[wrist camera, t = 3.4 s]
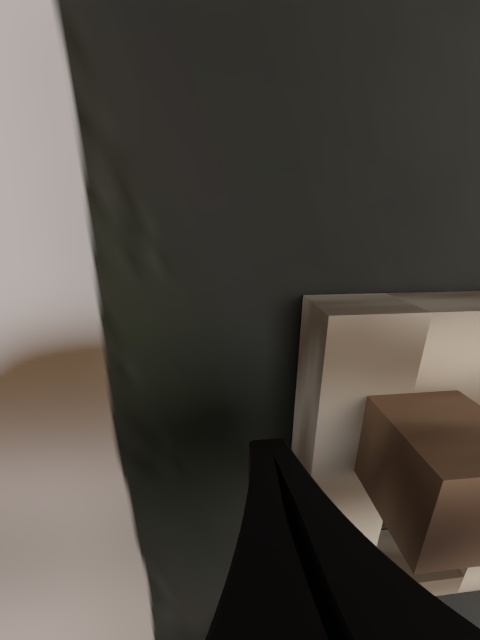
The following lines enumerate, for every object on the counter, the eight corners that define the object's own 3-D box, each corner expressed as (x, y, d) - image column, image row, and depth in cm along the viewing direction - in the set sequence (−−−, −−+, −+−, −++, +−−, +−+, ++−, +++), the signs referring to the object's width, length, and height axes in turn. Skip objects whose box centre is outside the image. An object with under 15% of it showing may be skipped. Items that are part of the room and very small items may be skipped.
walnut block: (436, 463, 13) (525, 560, 9) (354, 470, 13) (413, 574, 9) (458, 390, 12) (572, 468, 8) (367, 395, 11) (443, 480, 8)
